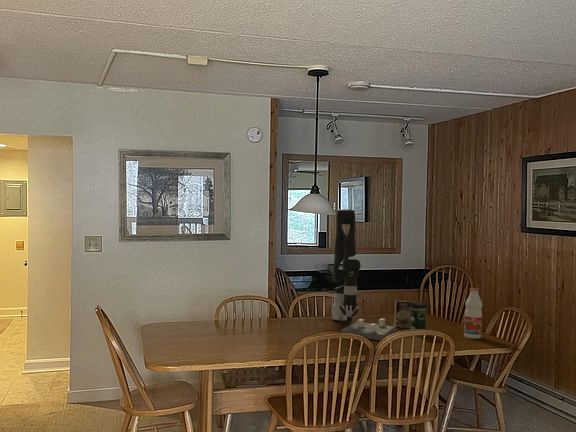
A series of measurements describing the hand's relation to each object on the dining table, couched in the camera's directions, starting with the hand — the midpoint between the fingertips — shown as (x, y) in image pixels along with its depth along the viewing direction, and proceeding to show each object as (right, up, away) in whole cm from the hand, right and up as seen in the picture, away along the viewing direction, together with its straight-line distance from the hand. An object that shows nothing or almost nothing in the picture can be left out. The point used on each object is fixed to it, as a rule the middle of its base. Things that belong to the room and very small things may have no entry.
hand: (349, 322), depth 332 cm
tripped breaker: (+6, -1, -3) cm, 7 cm away
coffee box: (+34, -6, +16) cm, 38 cm away
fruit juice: (+70, -7, -6) cm, 71 cm away
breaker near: (+11, -2, -15) cm, 19 cm away
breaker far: (+19, -2, +1) cm, 19 cm away
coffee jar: (+40, -6, 0) cm, 40 cm away
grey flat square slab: (+11, -5, -5) cm, 13 cm away
